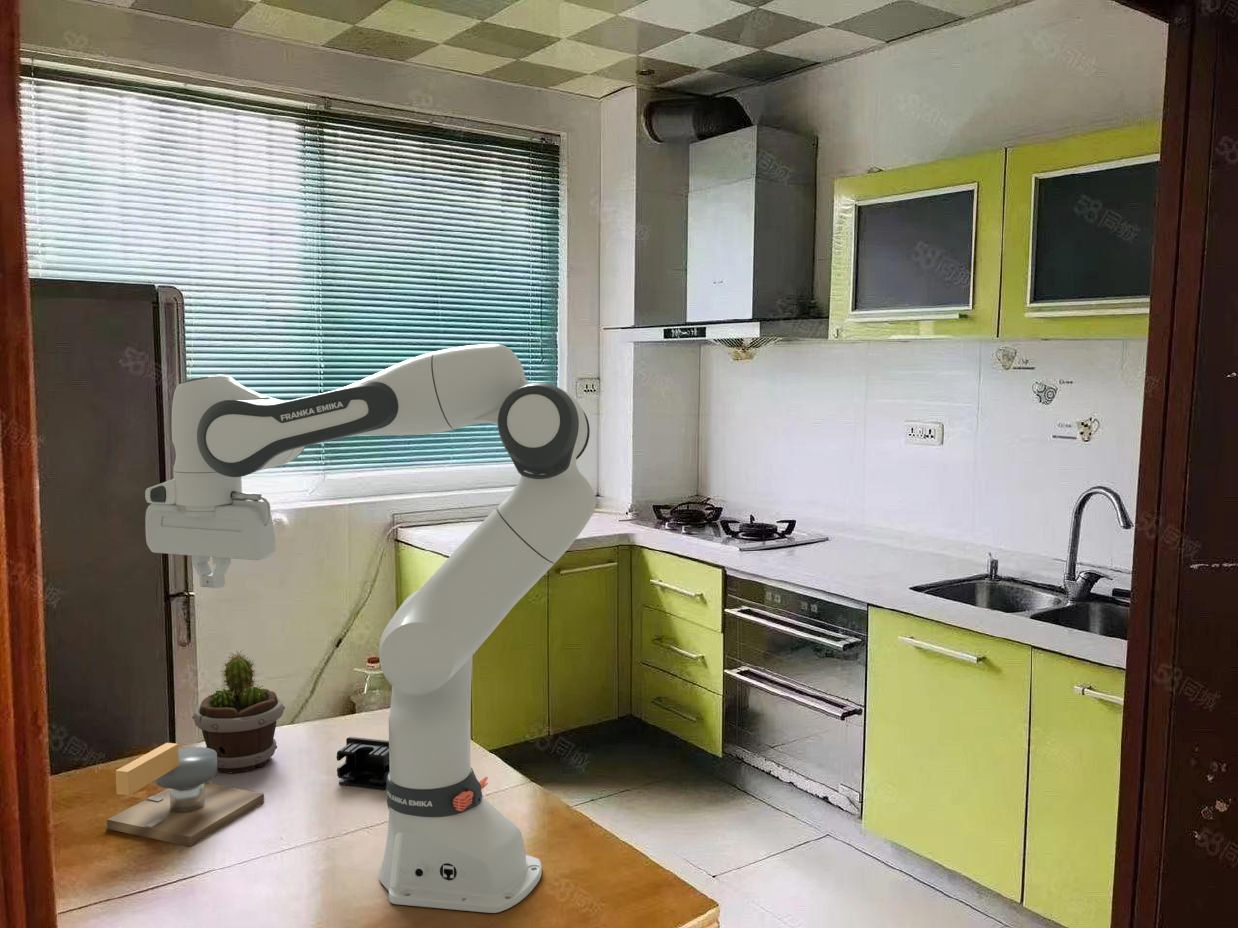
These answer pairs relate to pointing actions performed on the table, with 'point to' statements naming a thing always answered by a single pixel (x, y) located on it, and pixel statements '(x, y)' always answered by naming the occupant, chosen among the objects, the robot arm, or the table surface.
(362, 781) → the black slotted holder
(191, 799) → the short grey cylinder
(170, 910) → the table surface
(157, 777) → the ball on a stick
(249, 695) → the flowerpot
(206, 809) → the base plate
